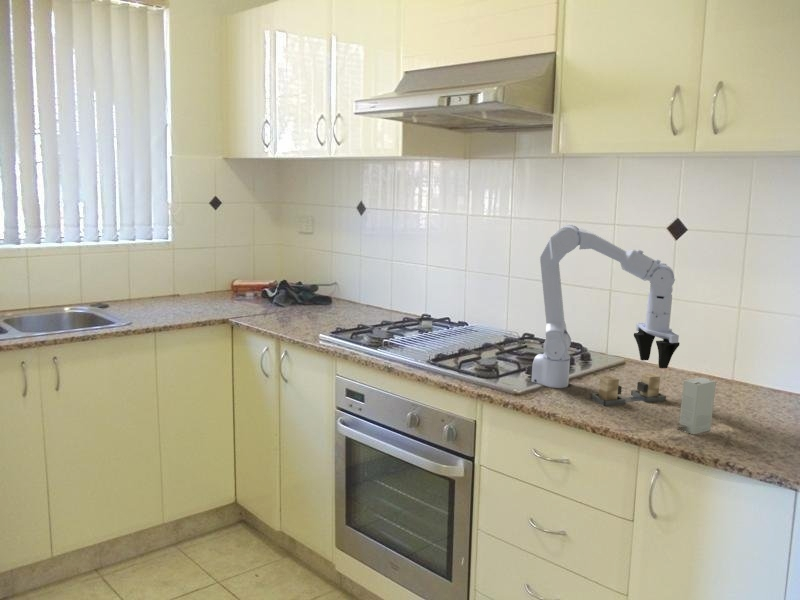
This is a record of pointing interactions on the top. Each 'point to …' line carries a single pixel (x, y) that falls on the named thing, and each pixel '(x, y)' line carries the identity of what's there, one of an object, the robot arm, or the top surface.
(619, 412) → the top surface
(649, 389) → the beige wooden block
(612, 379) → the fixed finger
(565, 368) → the robot arm
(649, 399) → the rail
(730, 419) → the top surface
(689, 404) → the skincare box
